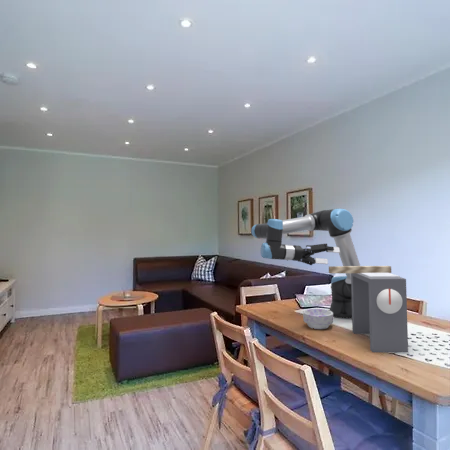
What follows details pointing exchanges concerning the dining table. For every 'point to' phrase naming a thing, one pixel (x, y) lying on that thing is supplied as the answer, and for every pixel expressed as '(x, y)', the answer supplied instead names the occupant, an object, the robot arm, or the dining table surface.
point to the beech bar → (359, 269)
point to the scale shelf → (380, 310)
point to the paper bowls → (318, 318)
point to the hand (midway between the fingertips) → (333, 256)
